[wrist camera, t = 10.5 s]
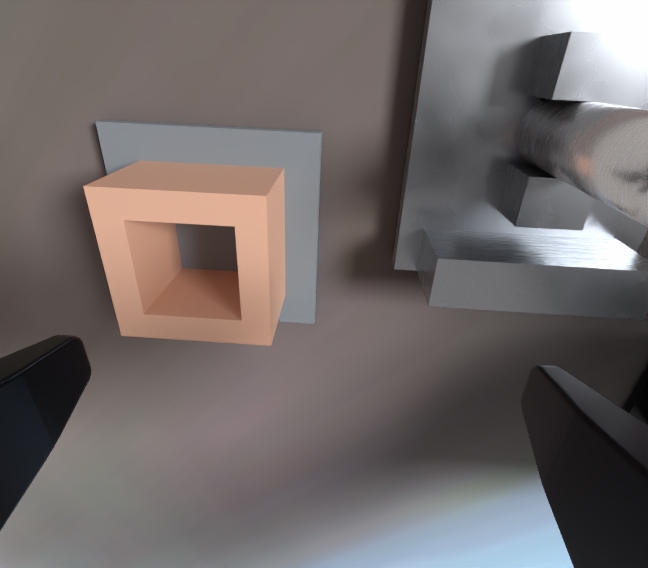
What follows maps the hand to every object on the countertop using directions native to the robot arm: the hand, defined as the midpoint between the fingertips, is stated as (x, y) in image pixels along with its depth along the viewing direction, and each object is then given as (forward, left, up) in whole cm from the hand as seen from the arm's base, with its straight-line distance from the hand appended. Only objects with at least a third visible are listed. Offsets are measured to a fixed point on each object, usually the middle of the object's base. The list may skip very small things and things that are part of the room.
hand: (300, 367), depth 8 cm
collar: (-1, +5, -10) cm, 11 cm away
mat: (-1, +5, -11) cm, 12 cm away
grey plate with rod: (+4, -8, -11) cm, 14 cm away
